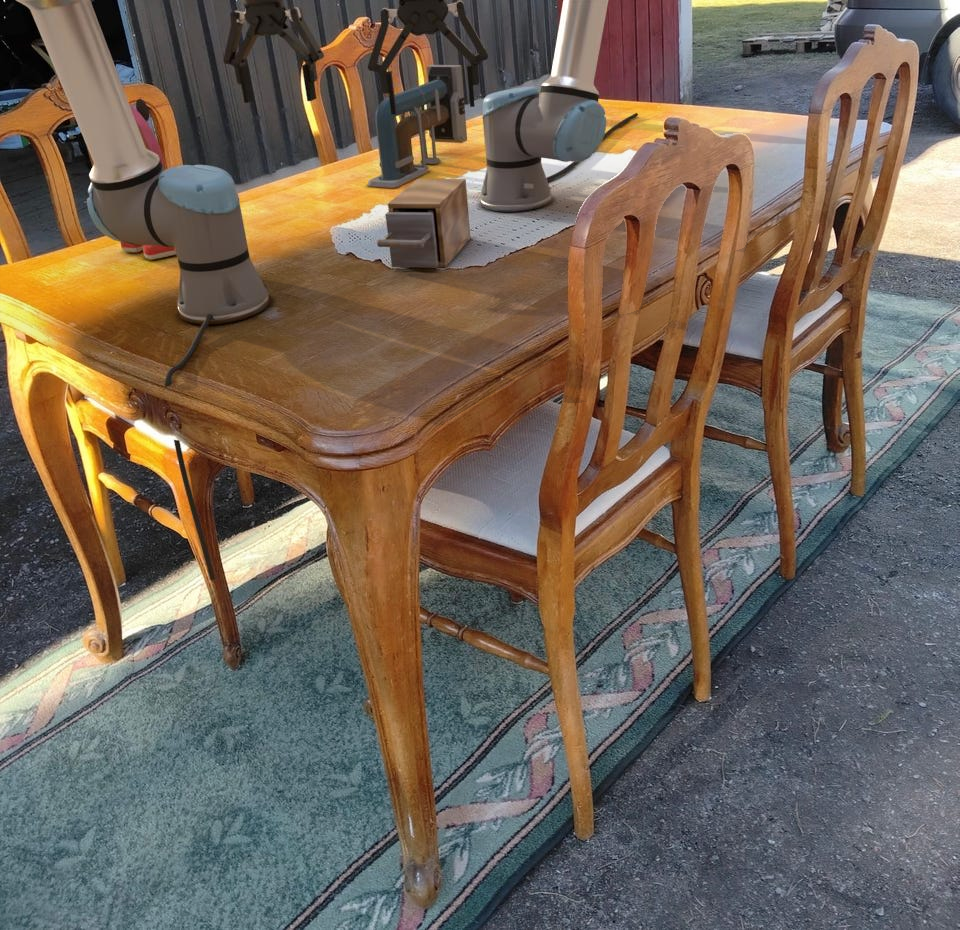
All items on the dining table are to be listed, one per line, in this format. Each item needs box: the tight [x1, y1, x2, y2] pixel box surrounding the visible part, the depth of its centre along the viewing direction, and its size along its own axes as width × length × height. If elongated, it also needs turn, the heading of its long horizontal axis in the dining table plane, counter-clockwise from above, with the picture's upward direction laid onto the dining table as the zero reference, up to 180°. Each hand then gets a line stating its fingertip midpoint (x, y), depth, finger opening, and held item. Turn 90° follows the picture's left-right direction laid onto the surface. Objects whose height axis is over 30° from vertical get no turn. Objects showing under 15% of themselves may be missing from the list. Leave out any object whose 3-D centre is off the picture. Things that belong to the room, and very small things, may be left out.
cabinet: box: [387, 178, 471, 268], centre depth 181 cm, size 16×10×12 cm, turn 164°
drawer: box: [376, 208, 440, 269], centre depth 176 cm, size 21×9×10 cm, turn 164°
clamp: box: [367, 64, 468, 189], centre depth 236 cm, size 35×9×21 cm, turn 151°
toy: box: [86, 98, 177, 261], centre depth 190 cm, size 21×10×30 cm, turn 47°
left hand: (280, 100), depth 190 cm, fingers open, 13 cm apart
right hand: (433, 109), depth 167 cm, fingers open, 13 cm apart
